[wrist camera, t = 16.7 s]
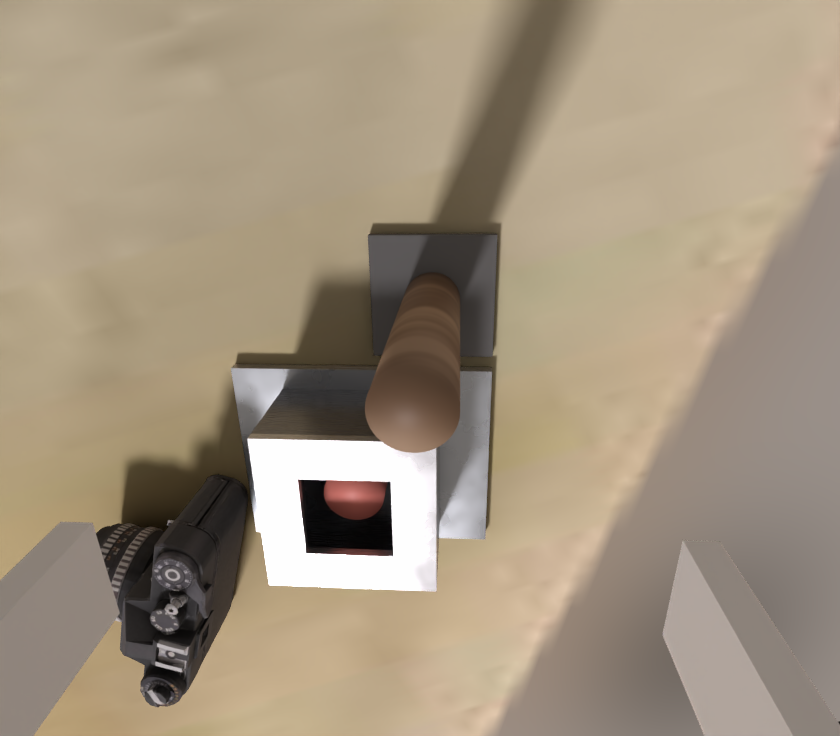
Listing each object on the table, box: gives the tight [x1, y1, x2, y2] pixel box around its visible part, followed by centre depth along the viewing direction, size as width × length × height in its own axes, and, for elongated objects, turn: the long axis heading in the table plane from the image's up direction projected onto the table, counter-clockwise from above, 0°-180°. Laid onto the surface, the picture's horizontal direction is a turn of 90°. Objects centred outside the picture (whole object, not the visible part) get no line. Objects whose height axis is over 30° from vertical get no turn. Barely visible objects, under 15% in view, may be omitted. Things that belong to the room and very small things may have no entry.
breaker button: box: [324, 480, 388, 520], centre depth 38 cm, size 4×4×4 cm
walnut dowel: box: [365, 272, 460, 453], centre depth 28 cm, size 4×4×16 cm
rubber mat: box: [368, 234, 497, 357], centre depth 36 cm, size 8×8×1 cm
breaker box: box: [231, 364, 492, 591], centre depth 37 cm, size 14×18×8 cm
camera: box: [96, 474, 248, 707], centre depth 41 cm, size 14×11×10 cm
